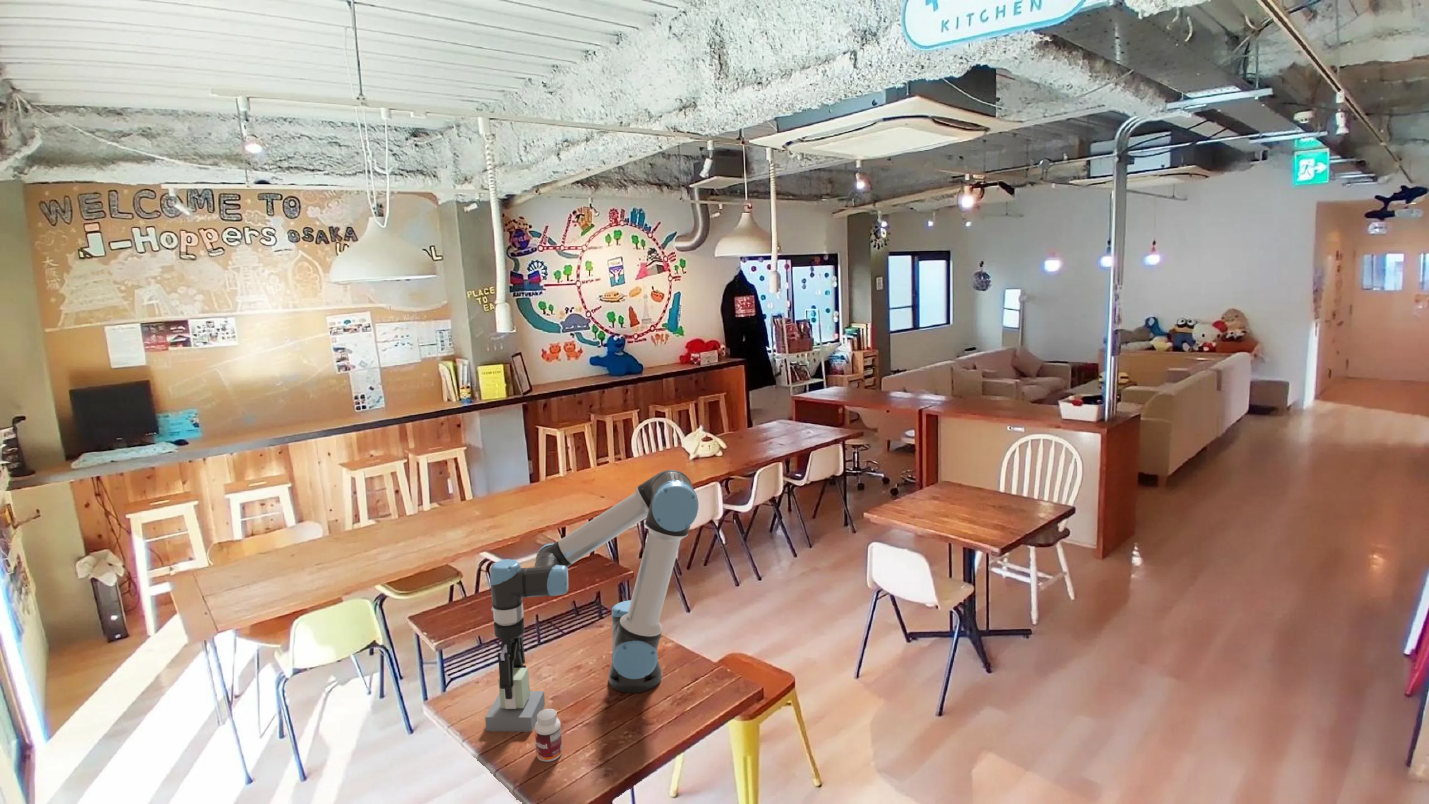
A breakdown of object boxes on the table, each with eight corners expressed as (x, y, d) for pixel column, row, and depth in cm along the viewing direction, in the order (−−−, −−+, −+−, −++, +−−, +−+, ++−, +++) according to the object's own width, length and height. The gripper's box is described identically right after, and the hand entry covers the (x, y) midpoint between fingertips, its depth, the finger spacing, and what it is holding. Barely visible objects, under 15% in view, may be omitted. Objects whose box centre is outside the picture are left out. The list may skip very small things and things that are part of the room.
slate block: (544, 704, 202) (543, 691, 201) (532, 731, 190) (531, 717, 189) (501, 704, 203) (500, 690, 202) (486, 731, 191) (485, 717, 190)
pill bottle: (531, 755, 181) (528, 715, 179) (551, 743, 185) (549, 703, 183) (547, 766, 177) (544, 724, 175) (567, 753, 181) (564, 712, 179)
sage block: (530, 695, 198) (528, 667, 197) (523, 708, 192) (521, 680, 191) (508, 695, 199) (505, 667, 197) (500, 708, 193) (498, 680, 191)
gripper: (506, 602, 201) (512, 680, 205) (481, 637, 182) (488, 722, 186) (533, 602, 200) (539, 680, 205) (511, 637, 182) (517, 722, 186)
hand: (515, 700), depth 195 cm, fingers closed on sage block, 6 cm apart
